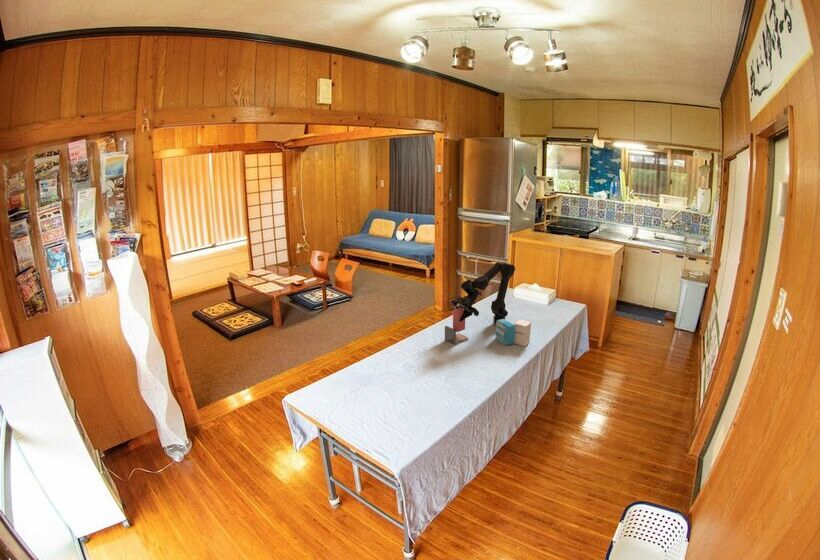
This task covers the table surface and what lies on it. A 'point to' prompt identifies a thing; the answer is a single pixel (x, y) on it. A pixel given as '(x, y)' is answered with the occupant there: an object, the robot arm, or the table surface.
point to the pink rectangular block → (456, 317)
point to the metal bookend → (450, 335)
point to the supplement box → (522, 332)
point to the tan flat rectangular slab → (460, 338)
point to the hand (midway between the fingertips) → (457, 319)
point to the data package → (505, 331)
